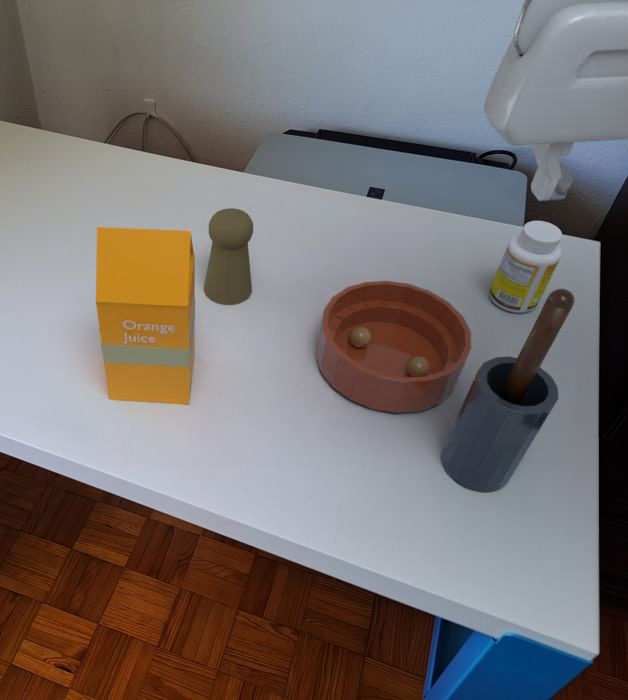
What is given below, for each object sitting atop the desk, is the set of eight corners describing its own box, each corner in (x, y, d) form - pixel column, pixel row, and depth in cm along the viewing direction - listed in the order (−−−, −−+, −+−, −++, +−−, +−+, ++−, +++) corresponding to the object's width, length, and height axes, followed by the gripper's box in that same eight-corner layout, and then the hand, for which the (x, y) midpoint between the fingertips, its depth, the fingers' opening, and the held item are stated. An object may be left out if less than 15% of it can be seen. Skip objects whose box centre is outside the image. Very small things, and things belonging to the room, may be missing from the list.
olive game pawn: (217, 267, 89) (219, 195, 81) (260, 282, 87) (266, 209, 79) (195, 295, 85) (195, 222, 77) (238, 311, 83) (243, 237, 75)
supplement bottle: (529, 285, 85) (561, 216, 77) (542, 316, 81) (577, 246, 73) (482, 283, 85) (510, 215, 78) (493, 314, 81) (523, 245, 74)
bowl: (430, 312, 82) (442, 277, 78) (477, 411, 71) (494, 376, 67) (304, 319, 82) (309, 284, 78) (332, 420, 71) (340, 385, 67)
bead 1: (366, 336, 79) (369, 321, 77) (371, 351, 77) (375, 336, 75) (345, 337, 79) (348, 322, 77) (350, 352, 77) (353, 337, 75)
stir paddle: (488, 452, 67) (578, 282, 51) (495, 467, 66) (590, 298, 50) (459, 454, 67) (541, 284, 51) (466, 469, 66) (552, 300, 50)
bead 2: (422, 365, 75) (428, 350, 73) (429, 382, 74) (435, 367, 72) (401, 367, 75) (406, 351, 73) (407, 383, 73) (412, 368, 72)
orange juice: (119, 348, 79) (103, 202, 65) (195, 353, 78) (195, 206, 64) (108, 400, 74) (87, 254, 59) (189, 406, 73) (188, 258, 59)
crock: (495, 436, 69) (538, 354, 60) (521, 490, 65) (572, 410, 56) (432, 439, 69) (466, 358, 60) (454, 494, 65) (494, 415, 56)
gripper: (565, -11, 32) (477, 229, 42) (992, -34, 32) (803, 210, 42) (511, -53, 37) (442, 174, 47) (887, -73, 37) (739, 157, 47)
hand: (617, 191), depth 44 cm, fingers open, 8 cm apart
